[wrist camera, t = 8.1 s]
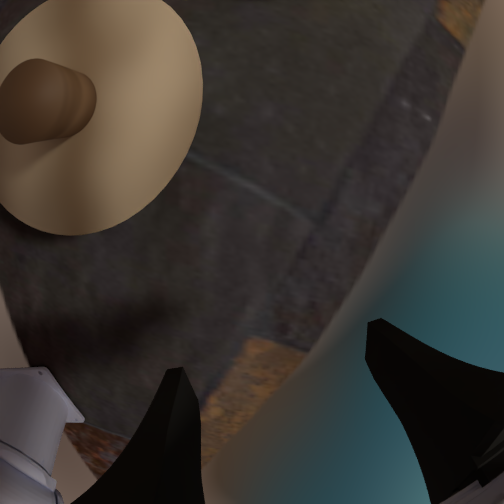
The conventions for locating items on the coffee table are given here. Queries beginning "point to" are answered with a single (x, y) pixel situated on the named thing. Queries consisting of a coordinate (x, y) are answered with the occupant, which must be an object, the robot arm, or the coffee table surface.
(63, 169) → the lid
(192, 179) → the coffee table surface
